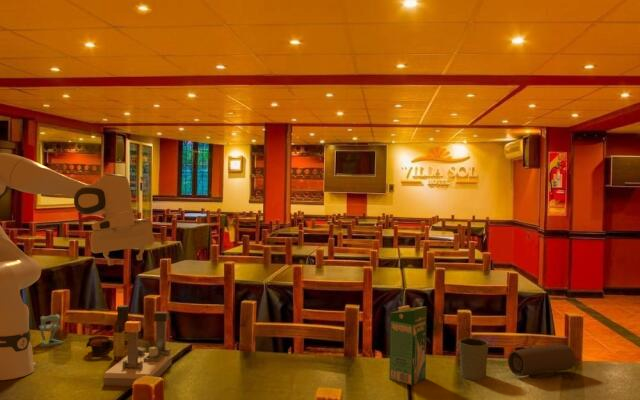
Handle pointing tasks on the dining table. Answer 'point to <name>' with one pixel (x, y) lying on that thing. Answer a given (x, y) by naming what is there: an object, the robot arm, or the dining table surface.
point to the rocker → (141, 350)
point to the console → (146, 367)
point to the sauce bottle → (121, 334)
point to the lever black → (161, 331)
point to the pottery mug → (99, 346)
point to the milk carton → (408, 344)
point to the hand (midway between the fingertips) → (125, 262)
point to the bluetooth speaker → (541, 360)
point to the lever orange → (132, 343)
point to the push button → (153, 352)
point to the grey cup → (473, 358)
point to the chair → (48, 327)
